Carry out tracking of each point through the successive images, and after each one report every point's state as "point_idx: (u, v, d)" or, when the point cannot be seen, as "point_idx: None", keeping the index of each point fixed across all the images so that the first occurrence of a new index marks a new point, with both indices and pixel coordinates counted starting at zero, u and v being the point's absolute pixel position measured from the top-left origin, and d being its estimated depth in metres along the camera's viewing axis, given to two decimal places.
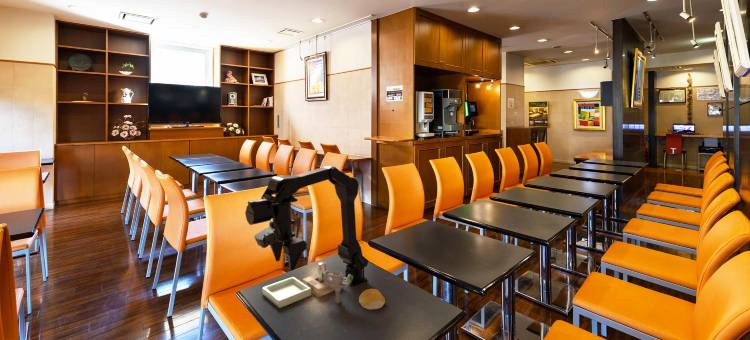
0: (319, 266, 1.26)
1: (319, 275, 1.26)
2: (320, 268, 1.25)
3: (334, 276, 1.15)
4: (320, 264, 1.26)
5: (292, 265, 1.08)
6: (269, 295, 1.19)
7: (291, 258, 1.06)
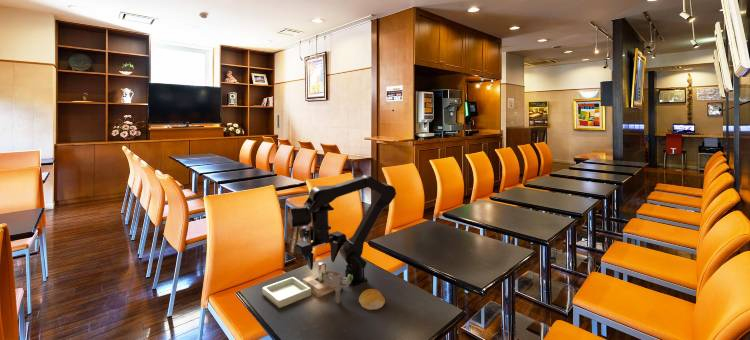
0: (319, 266, 1.26)
1: (319, 275, 1.26)
2: (320, 268, 1.25)
3: (334, 276, 1.15)
4: (320, 264, 1.26)
5: (308, 265, 1.23)
6: (269, 295, 1.19)
7: (305, 257, 1.23)
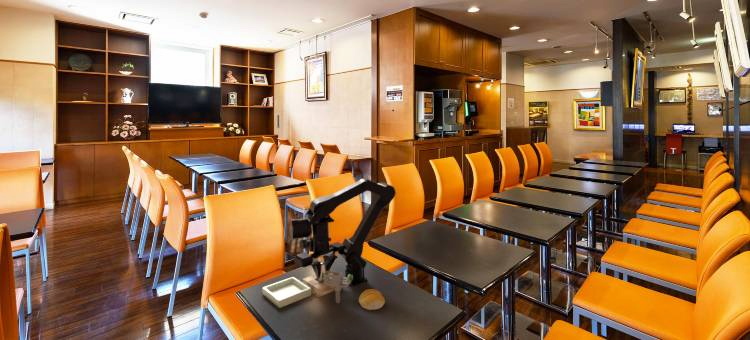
0: None
1: None
2: None
3: (334, 276, 1.15)
4: None
5: (316, 273, 1.26)
6: (269, 295, 1.19)
7: (313, 266, 1.25)
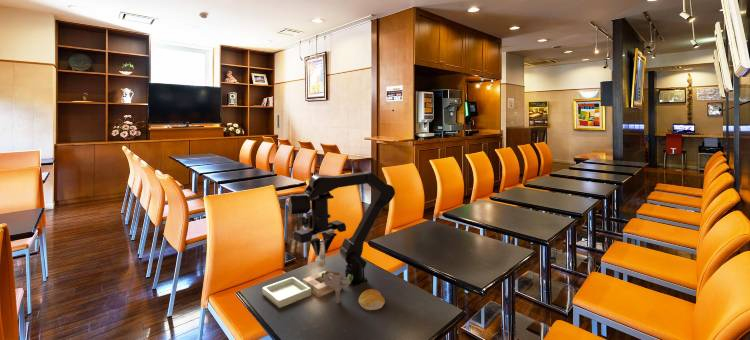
0: None
1: None
2: None
3: (334, 276, 1.15)
4: None
5: (315, 251, 1.24)
6: (269, 295, 1.19)
7: (312, 243, 1.24)
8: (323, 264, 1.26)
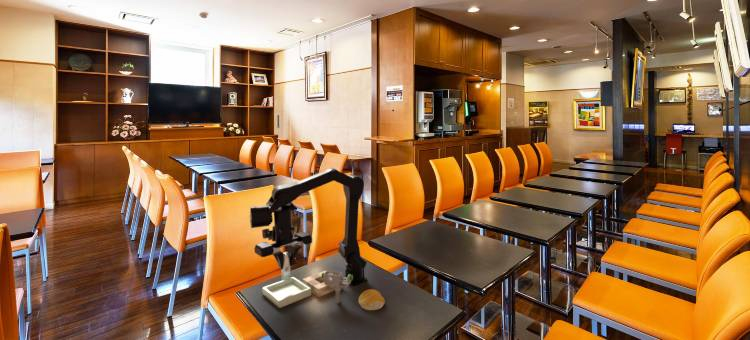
0: None
1: None
2: (283, 258, 1.19)
3: (334, 276, 1.15)
4: (283, 254, 1.20)
5: (278, 264, 1.20)
6: (269, 295, 1.19)
7: (275, 257, 1.19)
8: (287, 278, 1.21)
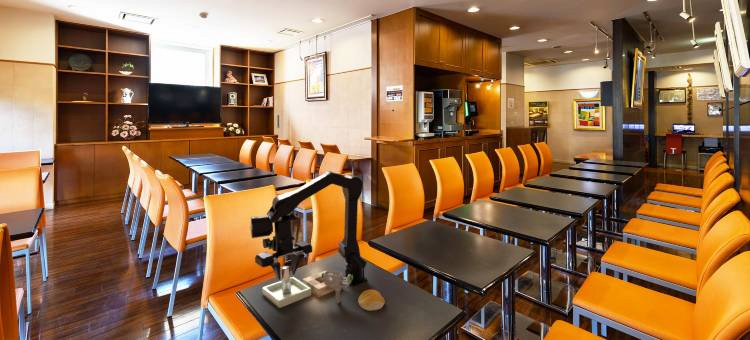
0: (282, 271, 1.20)
1: (282, 280, 1.21)
2: (283, 273, 1.20)
3: (334, 276, 1.15)
4: (283, 269, 1.21)
5: (276, 274, 1.20)
6: (269, 295, 1.19)
7: (272, 267, 1.19)
8: (288, 292, 1.22)
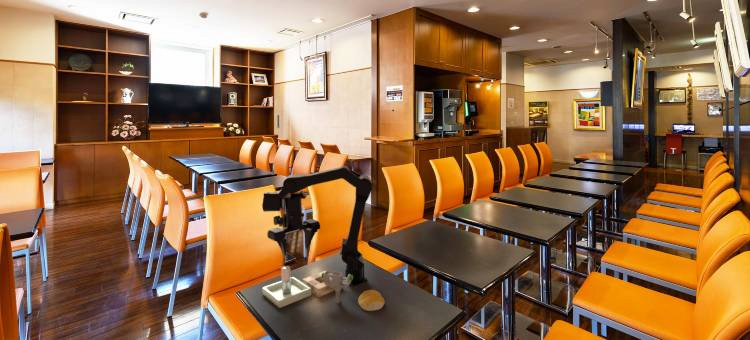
0: (282, 271, 1.20)
1: (283, 280, 1.21)
2: (283, 272, 1.20)
3: (334, 276, 1.15)
4: (284, 269, 1.21)
5: (282, 251, 1.26)
6: (269, 295, 1.19)
7: (279, 244, 1.26)
8: (288, 292, 1.22)
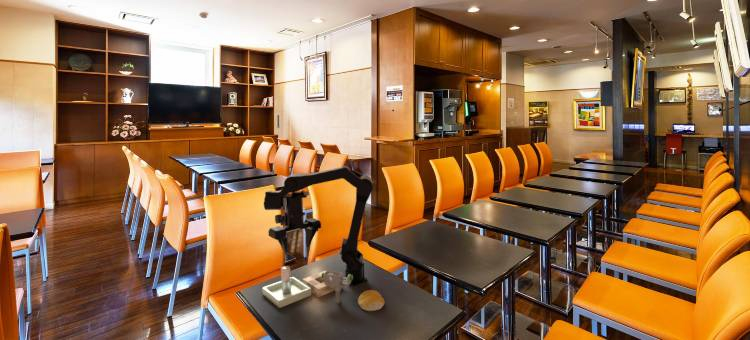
0: (282, 271, 1.20)
1: (282, 280, 1.21)
2: (283, 272, 1.20)
3: (334, 276, 1.15)
4: (283, 269, 1.21)
5: (283, 249, 1.27)
6: (269, 295, 1.19)
7: (280, 242, 1.27)
8: (288, 292, 1.22)
